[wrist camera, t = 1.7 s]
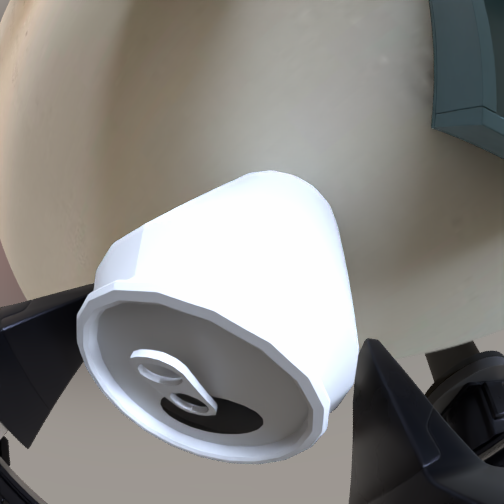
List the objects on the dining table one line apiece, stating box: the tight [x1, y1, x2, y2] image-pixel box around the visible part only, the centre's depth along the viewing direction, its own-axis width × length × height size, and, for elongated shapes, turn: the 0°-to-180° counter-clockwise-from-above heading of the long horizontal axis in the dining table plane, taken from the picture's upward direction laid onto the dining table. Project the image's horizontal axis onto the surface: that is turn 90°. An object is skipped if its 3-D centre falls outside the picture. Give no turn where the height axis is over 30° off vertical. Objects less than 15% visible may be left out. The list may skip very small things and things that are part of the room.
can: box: [77, 170, 359, 464], centre depth 10 cm, size 8×8×12 cm
